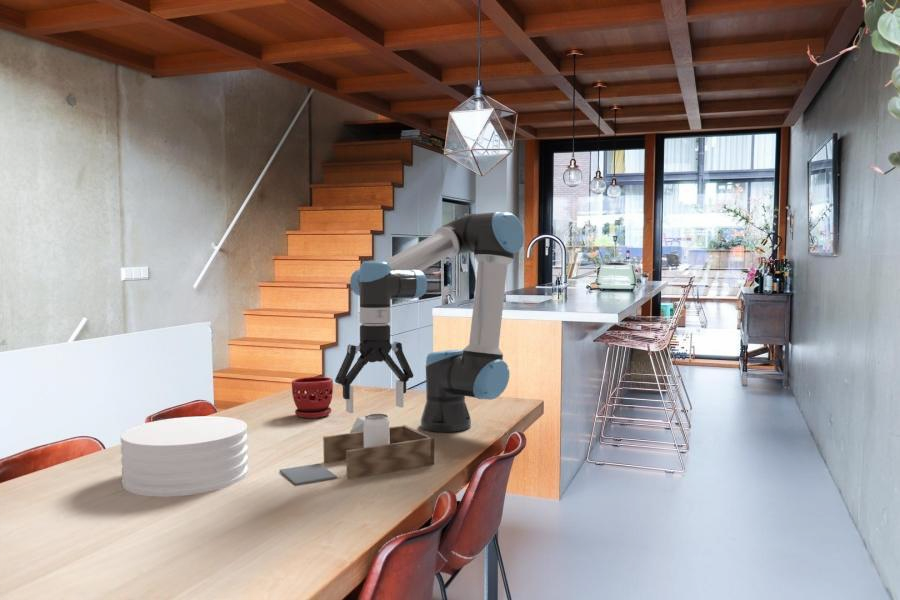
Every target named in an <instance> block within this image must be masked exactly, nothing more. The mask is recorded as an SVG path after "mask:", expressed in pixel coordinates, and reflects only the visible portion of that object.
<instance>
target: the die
mask: <svg viewBox="0 0 900 600" xmlns="http://www.w3.org/2000/svg"><path fill="white" fill-rule="evenodd" d="M356 417H357V416H356ZM364 420H365V416H364V417H361V416H359V417H357V418H356V419H355V422H353V423H354V424H353V425H352V427H351V429H350V431H349V433H353V432H361V431H363V423H364Z"/></svg>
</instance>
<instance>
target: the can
mask: <svg viewBox="0 0 900 600" xmlns="http://www.w3.org/2000/svg"><path fill="white" fill-rule="evenodd" d="M364 417H365V420H364V423H363V436H364V448H367V447H373V446H380V445H386V444H390V435H389V427H390V420H389V419H388V415H387V414H386V413H385V414H384V413H369V414H366V415H365V416H364Z"/></svg>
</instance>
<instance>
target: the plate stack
mask: <svg viewBox="0 0 900 600" xmlns="http://www.w3.org/2000/svg"><path fill="white" fill-rule="evenodd" d="M247 433H248V424H247V423H246V422H245V421H244V420H241V419H238V418H234V417H228V416H213V415H212V416H211V415H209V416H206V415H205V416H203V415H202V416H200V415H199V416H198V415H197V416H183V417H173V418H167V419H158V420H154V421H149V422H145V423H142V424H141V423H140V424H139V425H135V426H133V427H129V428H128V429H126V430H124V431H123V432H122V433H121V434H120V443H121V446H120V453H121V457H120V458H121V459H120V460H121V466H122V467H121V476H122V478H121V479H122V480H121V485H122V488H123V490H125V491H127V492H129V493H132V494H134V495H138V496H145V497H146V496H147V497H161V498H162V497H182V496H191V495H197V494H202V493H203V494H204V493H209V492H213V491H218V490H220V489H224V488H227V487H229V486H232V485H235V484H237V483H239V482H241V481H242V480H244V479H245V478H246V477H247V475H248V474H249V465H248V463H249V456H248V452H249V449H248V448H249V447H248V434H247Z"/></svg>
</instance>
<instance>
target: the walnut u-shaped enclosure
mask: <svg viewBox="0 0 900 600" xmlns="http://www.w3.org/2000/svg"><path fill="white" fill-rule="evenodd" d="M389 435H390V444H386V445H380V446H373V447H367V448H364V436H363V431H361V432H353V433H350V432H348V433H341V434H334V435H327V436H323V438H322V439H323V441H322V442H323V443H322V444H323V445H322V446H323V448H322V449H323V463H324V464H327V463H328V464H329V463H333V462H334V463H336V462H340V461H341V462H342V461H346V479H347V480H351V478H352V479H356V478H362V477H368V476H373V475H374V476H375V475H379V474H384V473H391V472H395V471H402V470H408V469H413V468H418V467H419V468H420V467H423V466H431V465H434V464H435V437H432V436H430V435H428V434H425V433H423V432H421V431H419V430H416V429H414V428H412V427H410V426H407V425H405V424H404V425H398V426H391V427H390V426H389Z"/></svg>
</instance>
